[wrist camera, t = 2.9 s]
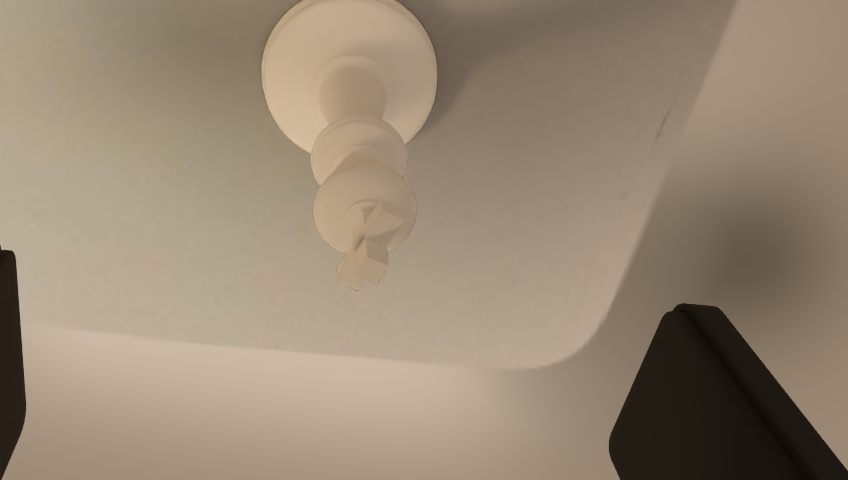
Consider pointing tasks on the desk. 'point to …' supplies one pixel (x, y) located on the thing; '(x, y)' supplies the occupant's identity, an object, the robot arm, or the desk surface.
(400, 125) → the chess piece
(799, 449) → the robot arm
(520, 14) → the desk surface
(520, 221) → the desk surface
